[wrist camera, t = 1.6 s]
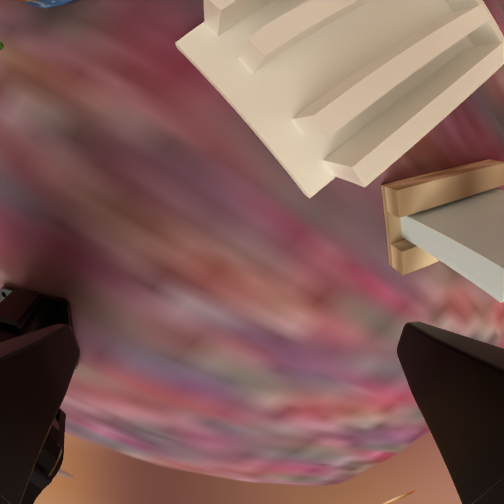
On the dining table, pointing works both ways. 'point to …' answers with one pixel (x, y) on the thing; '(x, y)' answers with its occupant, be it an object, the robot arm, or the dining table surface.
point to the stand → (431, 204)
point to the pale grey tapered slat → (465, 237)
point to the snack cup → (42, 6)
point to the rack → (343, 75)
